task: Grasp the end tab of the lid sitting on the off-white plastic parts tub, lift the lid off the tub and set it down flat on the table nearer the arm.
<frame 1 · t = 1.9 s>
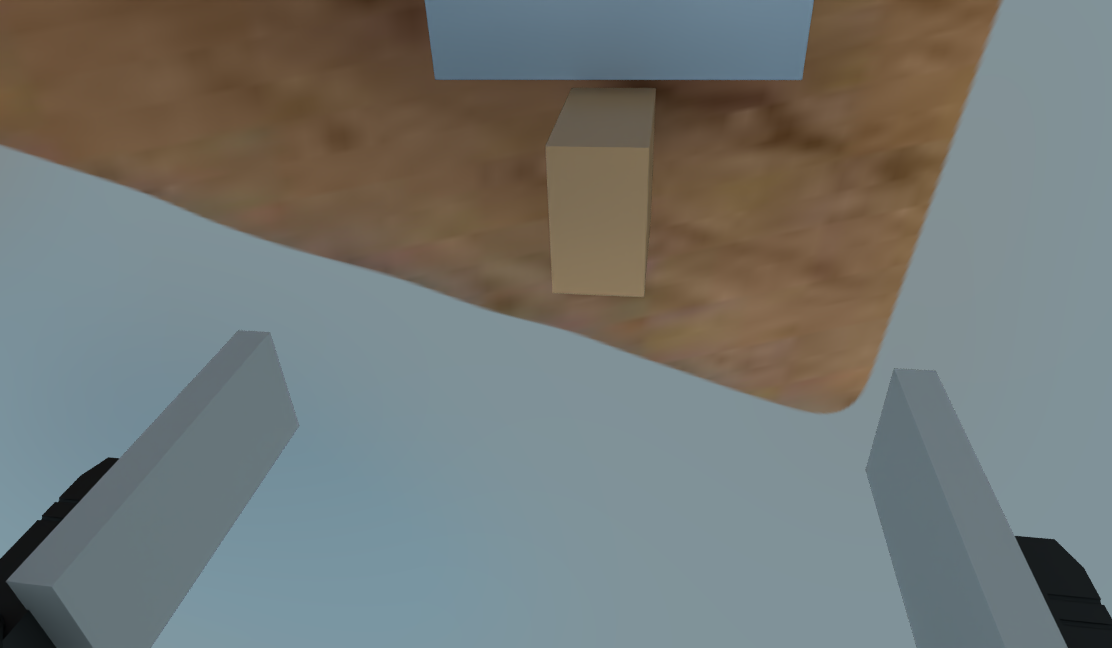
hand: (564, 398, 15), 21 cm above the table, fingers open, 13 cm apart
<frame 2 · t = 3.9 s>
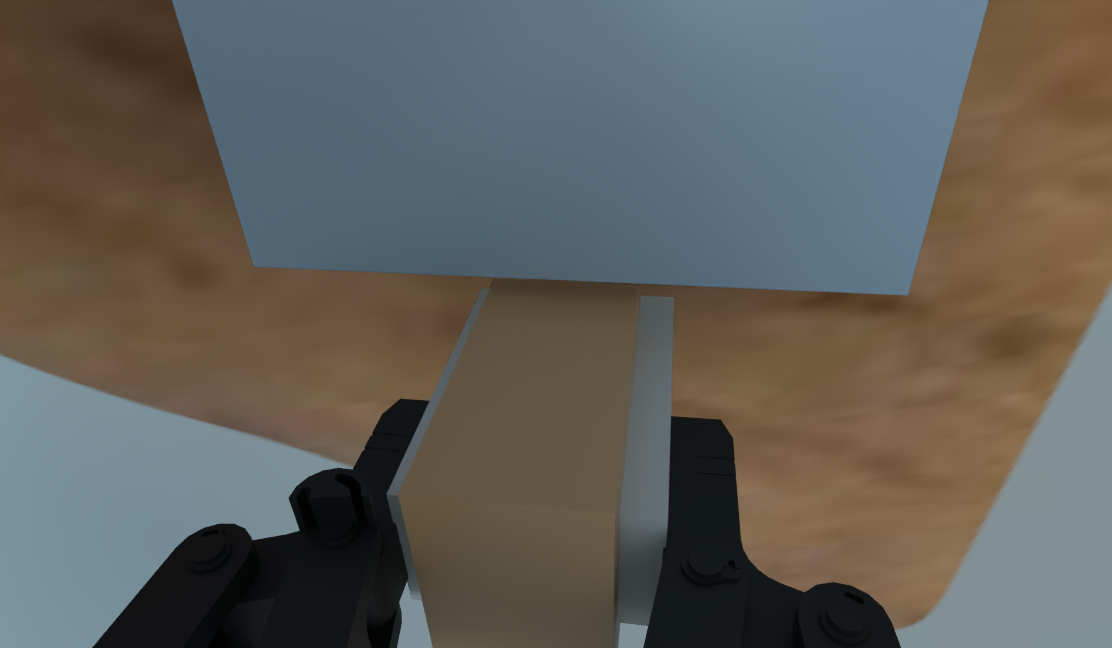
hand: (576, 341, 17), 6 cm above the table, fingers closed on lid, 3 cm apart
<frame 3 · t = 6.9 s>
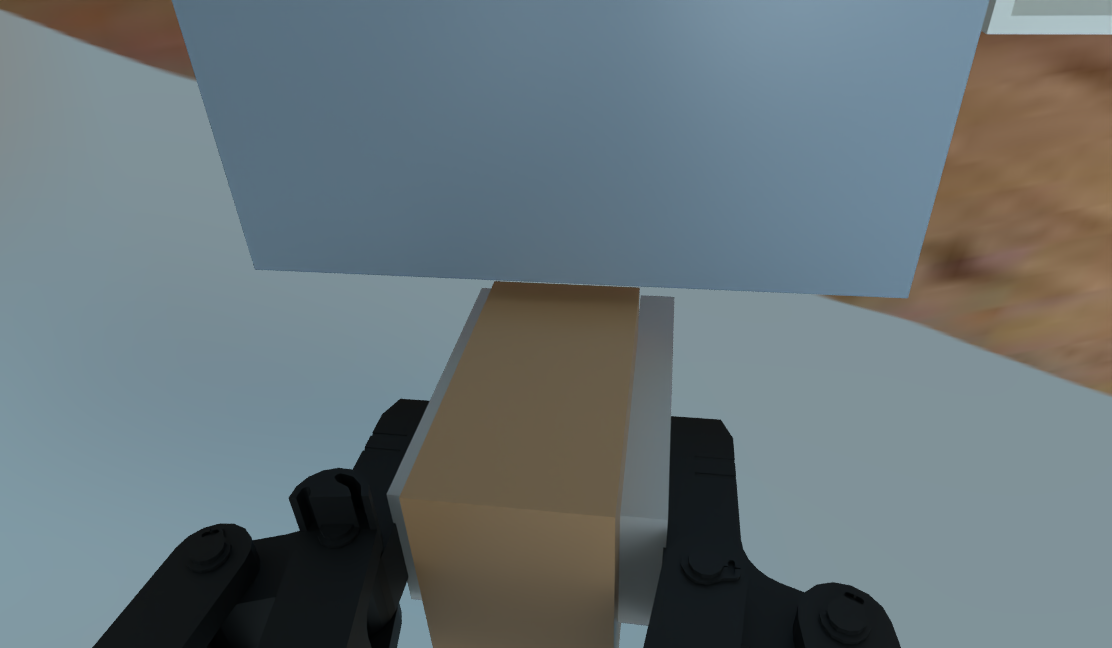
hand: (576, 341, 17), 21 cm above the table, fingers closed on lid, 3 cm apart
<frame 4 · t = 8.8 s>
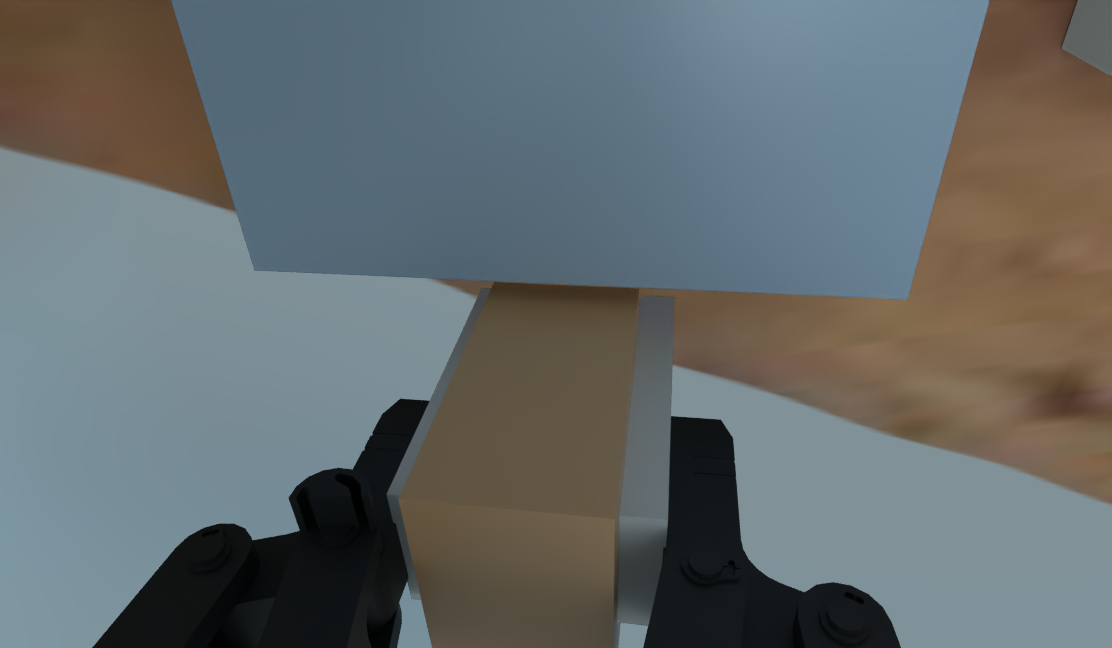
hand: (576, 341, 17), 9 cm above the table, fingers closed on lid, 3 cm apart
when the fingers open (2 cm above the table, at t = 10.2 s): lid drops 3 cm, on the table.
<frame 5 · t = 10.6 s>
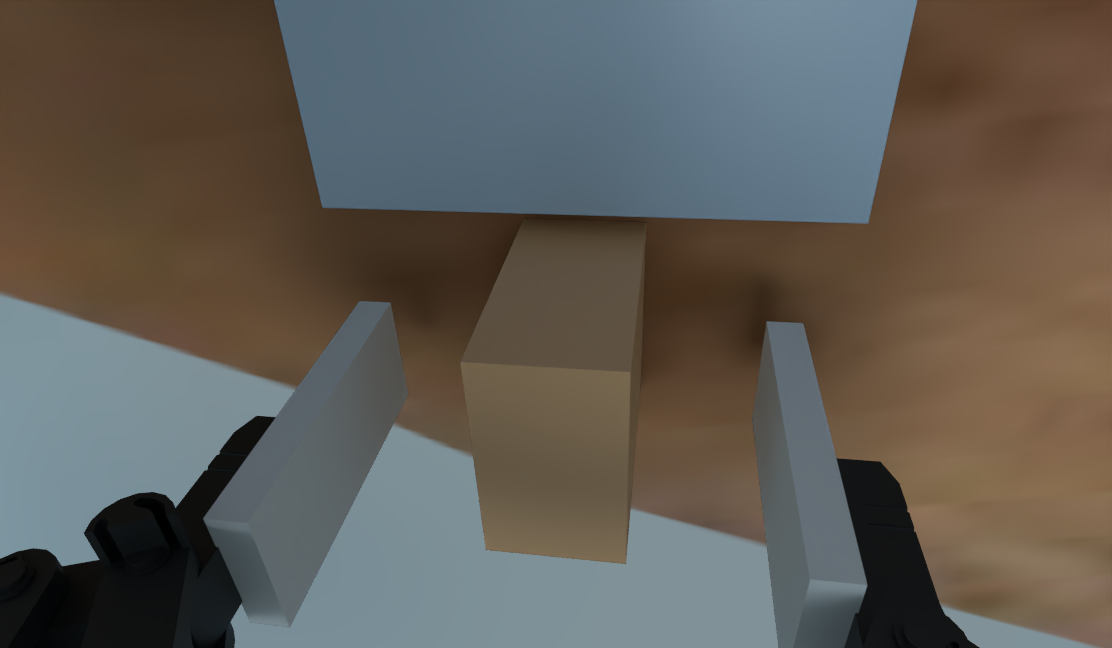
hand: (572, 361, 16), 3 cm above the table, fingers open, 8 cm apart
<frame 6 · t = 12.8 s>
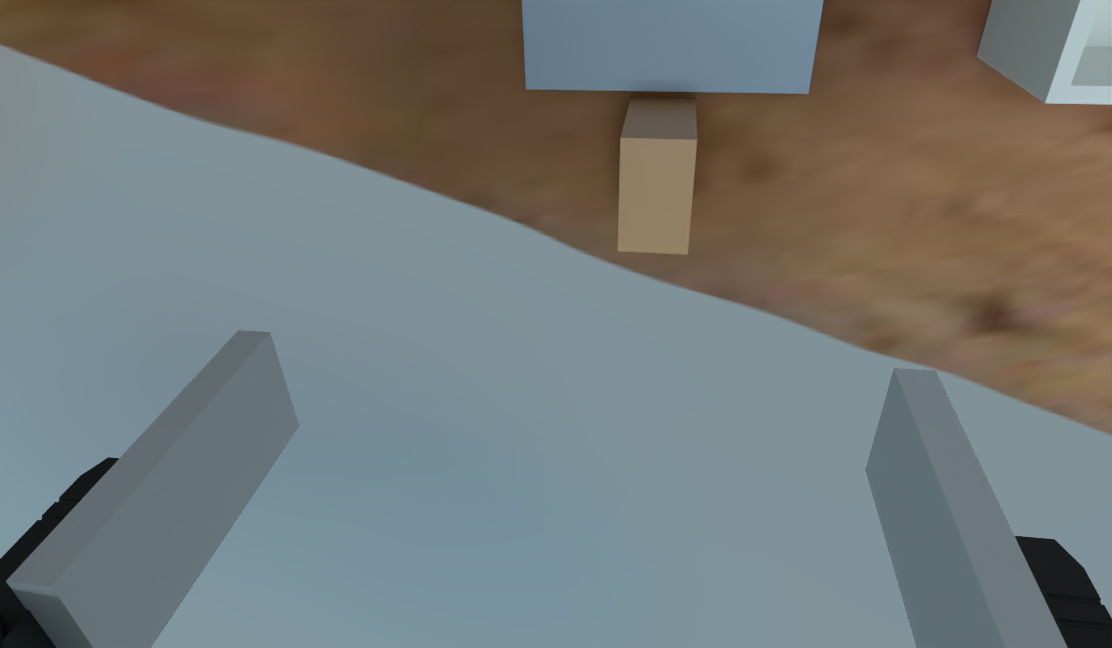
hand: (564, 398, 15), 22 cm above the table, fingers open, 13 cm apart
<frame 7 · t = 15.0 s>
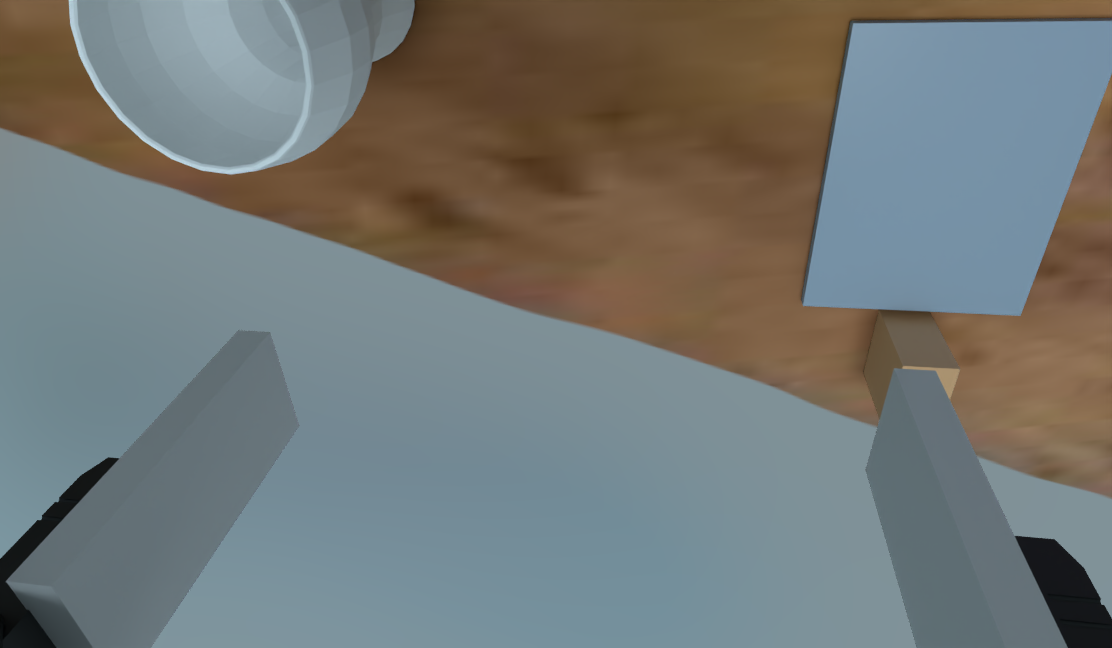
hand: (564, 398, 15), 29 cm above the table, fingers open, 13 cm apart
lid: (940, 177, 40), on the table
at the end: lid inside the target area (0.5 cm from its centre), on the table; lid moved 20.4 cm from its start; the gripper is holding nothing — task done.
